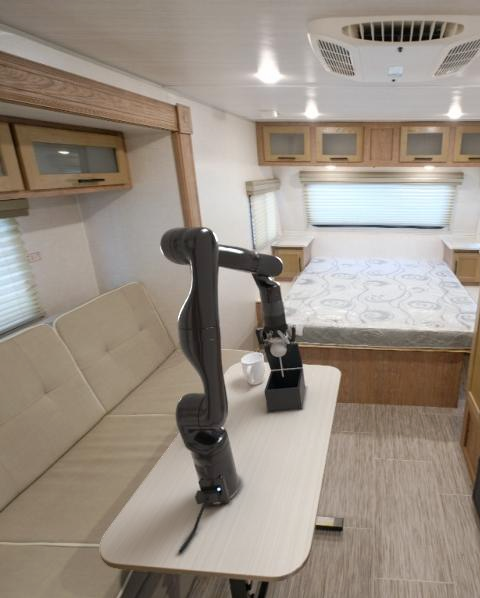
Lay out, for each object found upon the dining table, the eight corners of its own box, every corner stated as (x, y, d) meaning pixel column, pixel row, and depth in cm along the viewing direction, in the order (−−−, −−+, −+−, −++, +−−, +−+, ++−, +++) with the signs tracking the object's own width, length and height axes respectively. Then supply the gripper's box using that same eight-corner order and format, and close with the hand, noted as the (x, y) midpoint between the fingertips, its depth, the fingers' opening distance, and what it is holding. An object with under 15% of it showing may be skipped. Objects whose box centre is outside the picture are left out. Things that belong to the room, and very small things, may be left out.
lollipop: (293, 372, 133) (289, 338, 127) (287, 381, 127) (282, 346, 121) (278, 371, 133) (273, 337, 127) (271, 380, 128) (265, 345, 122)
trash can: (302, 409, 131) (299, 388, 127) (268, 412, 129) (264, 391, 125) (305, 387, 143) (303, 367, 140) (274, 390, 141) (271, 370, 138)
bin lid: (297, 344, 130) (298, 334, 134) (263, 346, 128) (265, 336, 132) (302, 367, 139) (303, 358, 143) (270, 370, 137) (272, 360, 141)
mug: (249, 376, 151) (244, 352, 146) (269, 374, 152) (265, 351, 147) (240, 392, 140) (235, 368, 135) (262, 391, 141) (258, 366, 136)
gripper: (249, 316, 115) (256, 359, 122) (293, 314, 117) (298, 356, 124) (254, 308, 122) (261, 348, 128) (295, 305, 124) (300, 345, 131)
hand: (279, 352), depth 126 cm, fingers closed on lollipop, 6 cm apart
